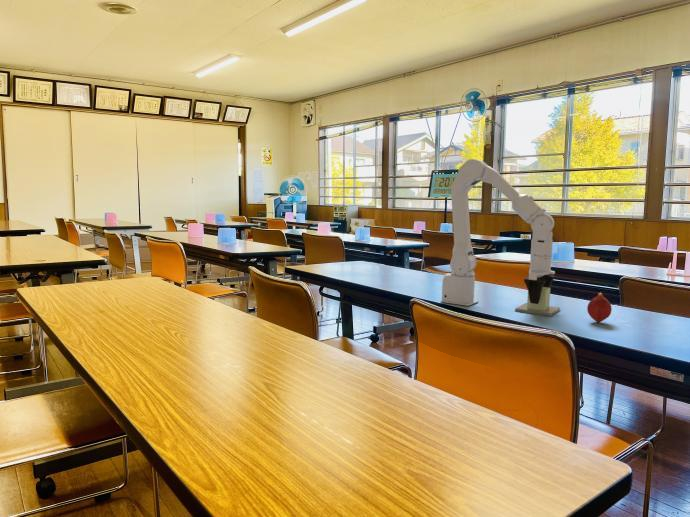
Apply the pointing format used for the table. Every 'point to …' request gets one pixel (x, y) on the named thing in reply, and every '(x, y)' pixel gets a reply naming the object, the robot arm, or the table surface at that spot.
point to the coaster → (548, 312)
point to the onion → (599, 308)
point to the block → (541, 300)
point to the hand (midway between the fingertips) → (538, 301)
